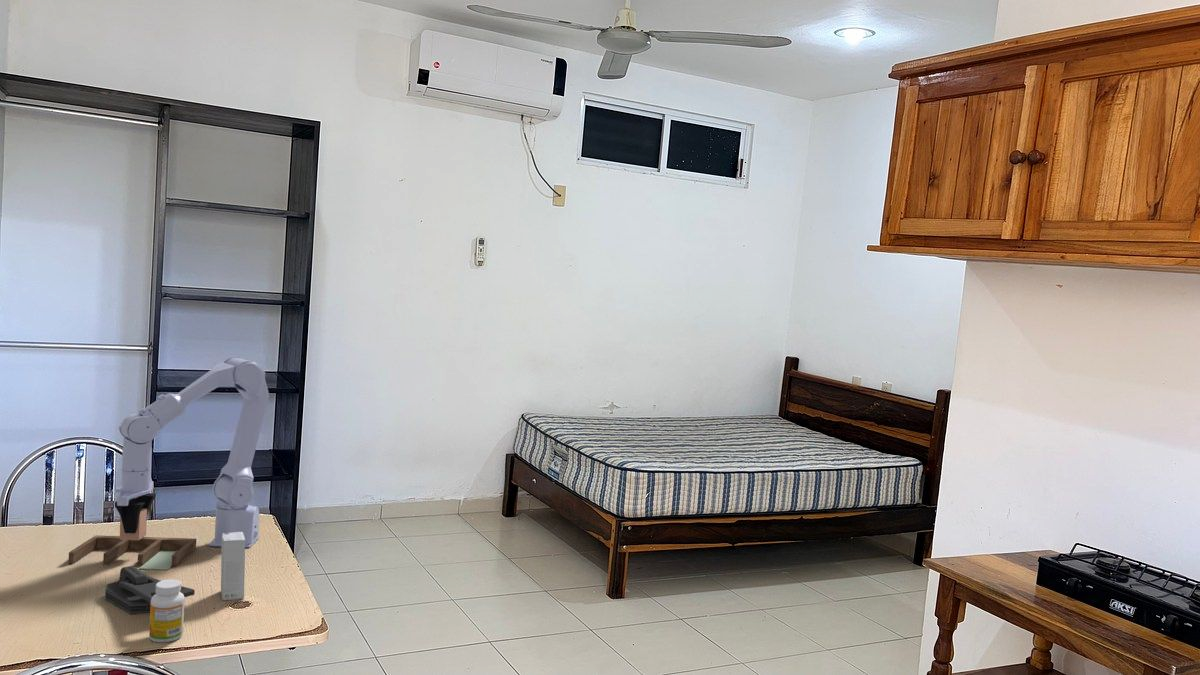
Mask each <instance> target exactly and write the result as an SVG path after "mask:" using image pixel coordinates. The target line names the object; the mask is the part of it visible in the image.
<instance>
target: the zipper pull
mask: <svg viewBox="0 0 1200 675" xmlns="http://www.w3.org/2000/svg"><path fill="white" fill-rule="evenodd" d="M160 581H161V580H160V579H158V578H154V577H151V576H147V575H146V573H144V572H143V571H142V570H141V569H139V568H137V567H136V566H134V565H129V566H125V567H124V566H123V567H121V569H120V571H119V579H118V580H116V581H113V582H110V583H108V584H106V587H105V597H104V598H105V601H106V602H108V603H110V604H112V605H113V606H116V607H117V608H118V609H120V610H122V612H125V613H127V614H129V615H147V614H150V604H151V598H152V597H153V596H154V595H155V594H156V584H157V583H158V582H160ZM180 592H181V593H182V594H183V595H184V598H188V597H190V596H195V592H196V590H195V589H194V588H190V587H186V586H183V585H181V590H180Z"/></svg>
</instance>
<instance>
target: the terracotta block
mask: <svg viewBox="0 0 1200 675" xmlns="http://www.w3.org/2000/svg"><path fill="white" fill-rule="evenodd" d="M119 517H120V518H119V521H120V522H119V536H120V540H140V539H141V538H143V537H146V535H147V525H148V524H147V518H148V515H147V509H144V508H142V510H141V512H140V516H139V520H138V527H137V530H136V533H125V531H124V528H123V523H122V520H121V516H120V515H119Z"/></svg>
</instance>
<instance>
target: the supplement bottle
mask: <svg viewBox="0 0 1200 675" xmlns="http://www.w3.org/2000/svg"><path fill="white" fill-rule="evenodd" d="M181 586H182V582H181V581H180V580H179V579H172V578H171V579H170V578H169V579H164V580H160V582H158V583H157V584H156V594H155V595H154V596H153V597H152V598H151V604H150V613H149V630H148V631H149V635H148V636H149V639H150V641H153V642H155V643H169V642H173V641H177V640H178V639H180V638H182V636H183V635H184V622H185V620H184V618H185V598H186V597H184V595H183V594H182V593H181V592H180V590H181Z"/></svg>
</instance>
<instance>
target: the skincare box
mask: <svg viewBox="0 0 1200 675" xmlns="http://www.w3.org/2000/svg"><path fill="white" fill-rule="evenodd" d="M220 547H221V548H220V550H221V553H220V555H221V557H220V558H221V563H220V566H221V567H220V592H221V593H220V595H221V600H222V601H235V600H236V601H237V600H242V599H243V600H244V598H245V577H246V576H245V572H246V569H245V568H246V566H245V565H246V547H245V537H244V534H243V532H233V533H223V534H222V546H220Z"/></svg>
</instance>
